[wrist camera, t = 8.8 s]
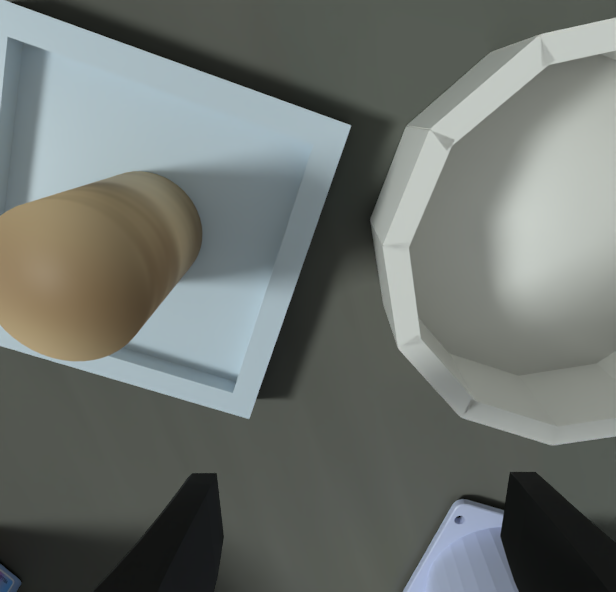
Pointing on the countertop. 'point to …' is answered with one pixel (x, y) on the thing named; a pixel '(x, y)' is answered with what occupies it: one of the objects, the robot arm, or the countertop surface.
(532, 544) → the robot arm
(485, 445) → the countertop surface
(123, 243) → the oak plug
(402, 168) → the white faceted bowl
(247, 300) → the blue-grey tray
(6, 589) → the ink cartridge box
